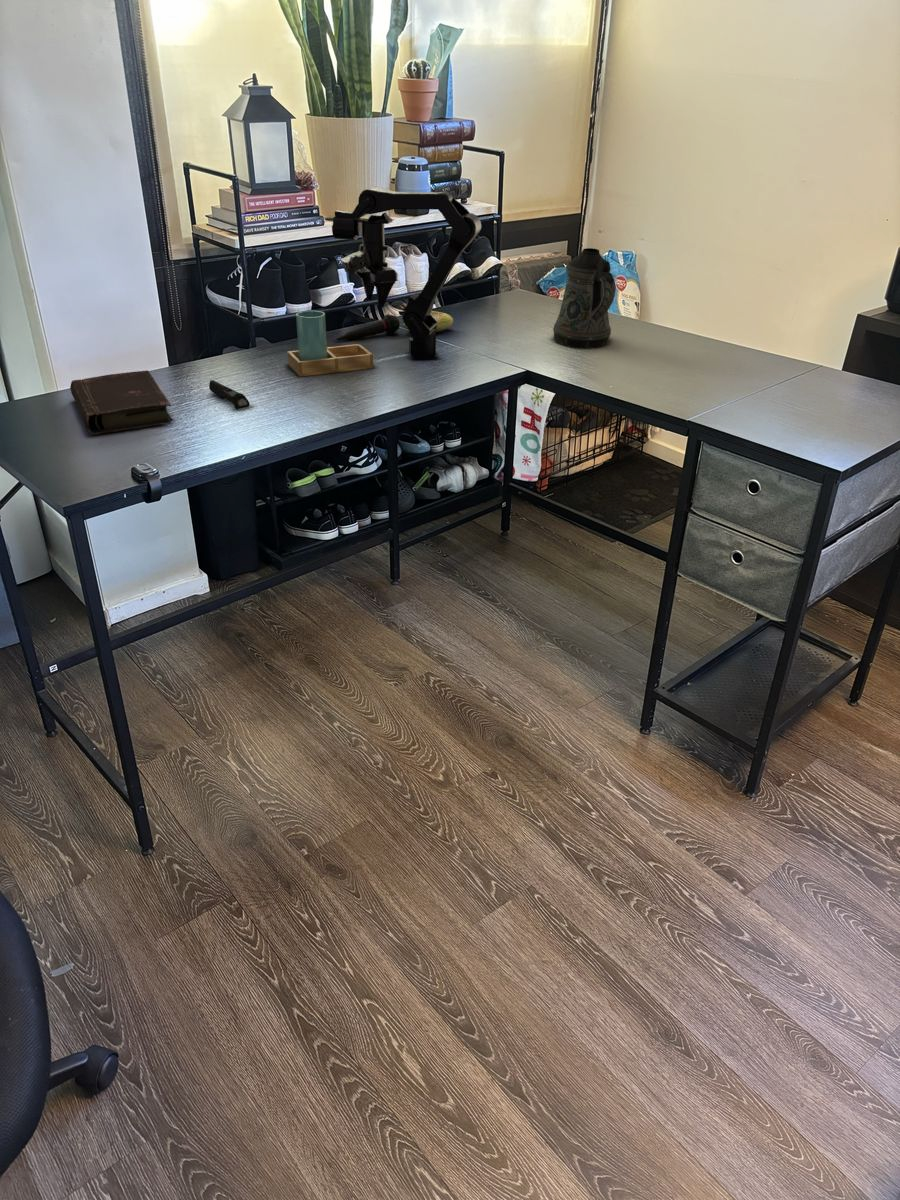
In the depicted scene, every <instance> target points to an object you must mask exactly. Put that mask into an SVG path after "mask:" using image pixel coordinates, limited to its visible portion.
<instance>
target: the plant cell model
mask: <svg viewBox="0 0 900 1200" xmlns="http://www.w3.org/2000/svg"><path fill="white" fill-rule="evenodd" d="M431 315H432V316H433V318H434V319H435V320H436V321H437V322H438V325H437V328H436V330H434V332H435V333H438V332H442V331H445V330H447V329H449V328H451V327H452V326H453V324H454V319H453V317H452V316H451V315H450V314H448V313H445V312H441V311H435V310H432V311H431ZM403 328H405V329H406V330H408V331H409V329H408V327H407V326H406V325H405V324H404V323H403Z"/></svg>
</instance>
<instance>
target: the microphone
mask: <svg viewBox="0 0 900 1200" xmlns="http://www.w3.org/2000/svg"><path fill="white" fill-rule="evenodd" d="M400 326H401V323H400V320H399V318H398V317H397V316H396V315H393V314H390V313H387V314H385V315H384V316H383V319H382V320H377V321H374V322H372V323H370V324H366V325H364V326H361V327H358V328H355V329H352V330H350V331H348V332H346V333H345V334H344V335H341V336H339V337H337V338H336V341H344V340H347V341H353V340H356V339H357V340H358V339H361V338H366V337H372V336H376V335H380V334H383V333H386V334H389V335H390V336H391V335H394V334H395V333H396V332H398V330H399V329H400Z"/></svg>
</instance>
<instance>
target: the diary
mask: <svg viewBox="0 0 900 1200" xmlns="http://www.w3.org/2000/svg"><path fill="white" fill-rule="evenodd" d="M69 389H70V393H71V396H72V397H73V399H74V401H75V404H76V407H77V409H78V412H79V414H80V415H81V417H82V419H83V422H84V425H85V429H86V430H87V431H88V432H89V434H90V435H92V436H94V435H100V434H107V433H108V434H109V433H114V432H115V433H116V432H121V431H127V430H136V429H142V428H148V427H149V428H150V427H155V426H159V425H164V424H169V423H172V422H174V418H172V417H171V415H170V413H168V409H167V407H171V406H172V404H171V402H170V401H169V400H168V397H166V395H165V394H164V391H162V390H161V388H160V387H159V385H158V383H157V382H156V380H155V378H154V377H153V375H152V374H151V373H150V371H149V370H148V369H147V370H138V371H129V372H120V373H111V374H110V373H109V374H104V375H98V376H93V377H92V376H91V377H86V378H82V379H81V378H80V379H73V380H71V382H70V387H69Z"/></svg>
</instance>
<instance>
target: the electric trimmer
mask: <svg viewBox="0 0 900 1200" xmlns="http://www.w3.org/2000/svg"><path fill="white" fill-rule="evenodd" d="M208 384H209V385H208V388H209V390H210V392H212V393H213V394H214V395H215V396H216V397H217V398H218V399H221V400H226V401H228V402H229V403H230V404H232V405H233V407H234V409H235V410H245V409H249V408H250V406H251V403H250V401H249V399H248V398H247V397H246V396H245V394H243V393H242V392H238V391H236V390H234V389H232V388H231V387H228V386H226V385H223V384H222V383H220V382H218V381H216V380H214V379H211V380H209V383H208Z"/></svg>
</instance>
